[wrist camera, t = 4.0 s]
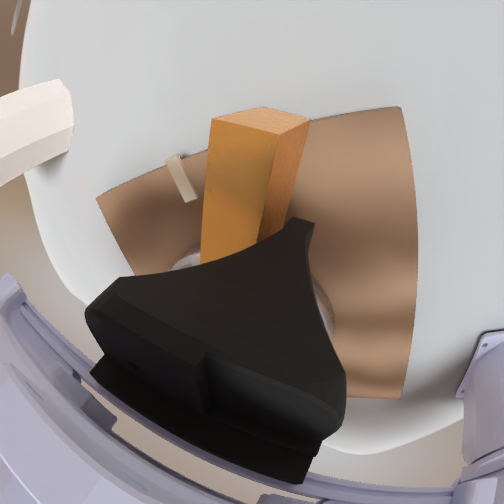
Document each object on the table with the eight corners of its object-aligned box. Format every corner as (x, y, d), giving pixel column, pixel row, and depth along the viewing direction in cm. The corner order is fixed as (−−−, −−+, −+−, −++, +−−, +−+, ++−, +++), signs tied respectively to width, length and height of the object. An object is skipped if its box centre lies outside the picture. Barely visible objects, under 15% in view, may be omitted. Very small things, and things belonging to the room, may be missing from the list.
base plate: (402, 384, 19) (400, 400, 18) (205, 362, 30) (198, 373, 29) (395, 97, 9) (399, 98, 8) (106, 186, 20) (91, 194, 19)
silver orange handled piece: (302, 380, 21) (279, 435, 17) (180, 324, 24) (145, 368, 20) (432, 160, 9) (474, 218, 5) (182, 87, 11) (93, 104, 7)
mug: (78, 83, 15) (-25, 120, 8) (73, 167, 21) (-8, 215, 14) (31, 72, 16) (-41, 100, 9) (29, 136, 22) (-33, 169, 15)
